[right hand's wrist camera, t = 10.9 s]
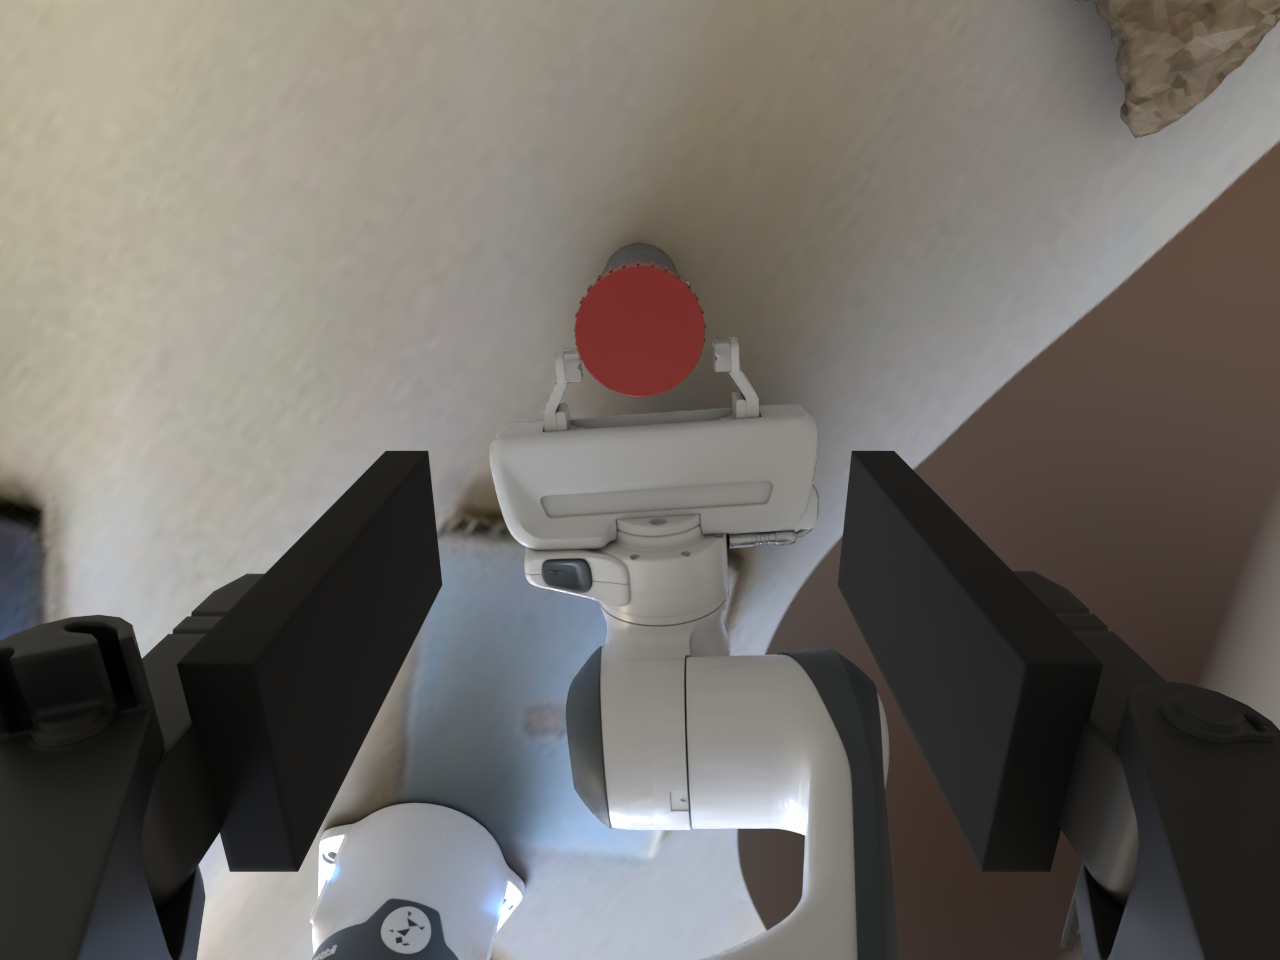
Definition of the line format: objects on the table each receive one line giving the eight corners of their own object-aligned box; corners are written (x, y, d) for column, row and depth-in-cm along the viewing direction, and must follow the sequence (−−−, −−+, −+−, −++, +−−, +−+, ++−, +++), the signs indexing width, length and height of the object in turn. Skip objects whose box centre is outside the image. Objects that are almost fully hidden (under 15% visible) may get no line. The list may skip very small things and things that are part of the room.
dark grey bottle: (594, 310, 51) (570, 373, 33) (611, 234, 49) (596, 258, 32) (666, 328, 52) (681, 400, 34) (686, 254, 50) (711, 288, 32)
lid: (565, 371, 35) (561, 381, 33) (592, 246, 33) (589, 249, 31) (684, 399, 35) (686, 411, 33) (717, 278, 33) (722, 283, 32)
